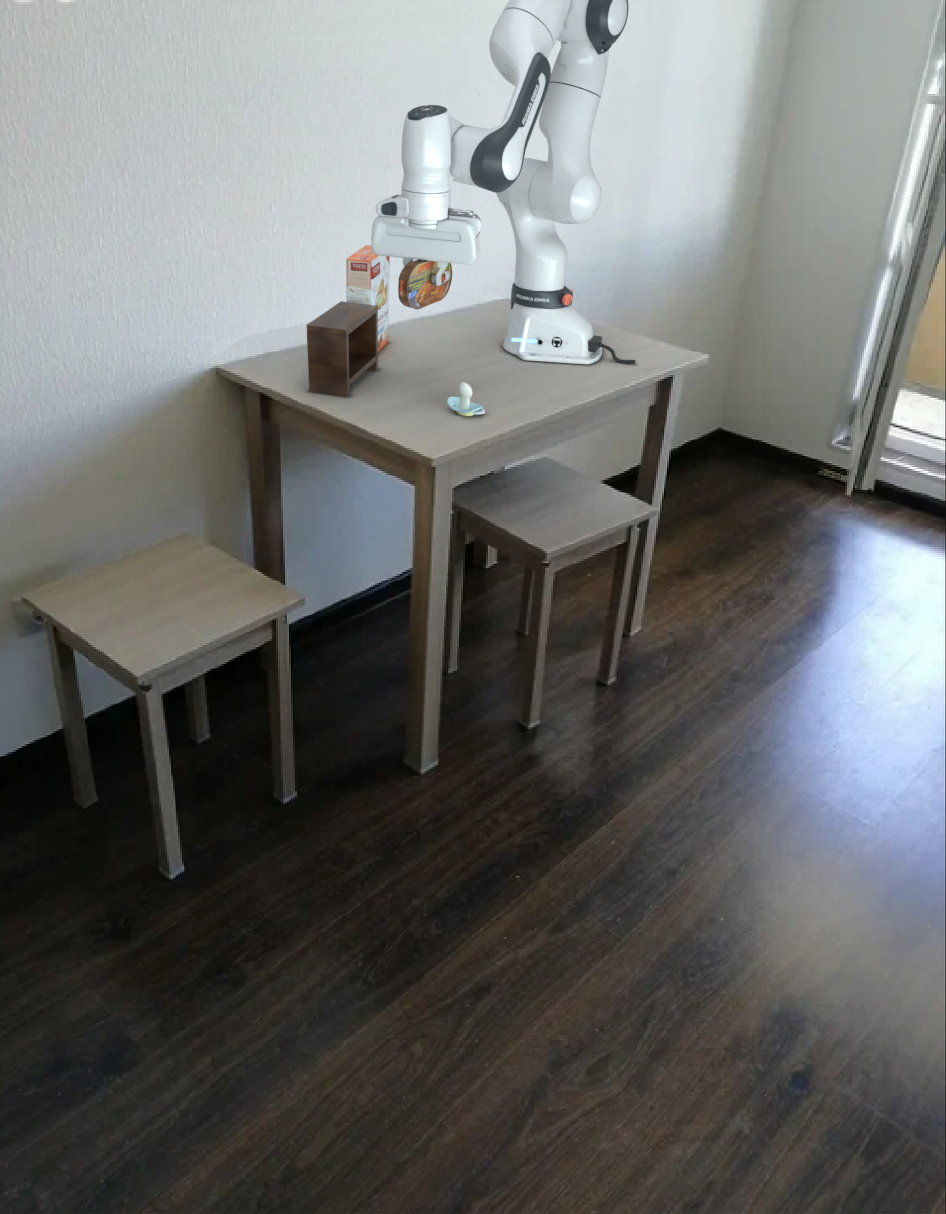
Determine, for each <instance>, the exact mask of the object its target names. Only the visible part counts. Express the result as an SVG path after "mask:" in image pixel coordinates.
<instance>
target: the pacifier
mask: <svg viewBox="0 0 946 1214" xmlns="http://www.w3.org/2000/svg"><path fill="white" fill-rule="evenodd" d="M457 389H458V390H457V391H458V394H459V395H460V397H458V396H450V397H448V398H447V401H446V402H447V406H448V407H449V408H450V409H452V410H453V411H456V413H457V415H460V416H462V417H472V416H476V415H478V416H479V415H484V414H485V413H486V409H485V408H484V405H483V404H479V403H475V402H472V401H471V398H472V397H473V389H472V387H471V386H470V384H468V383H467V382H464V381H462V382H460V383H459V385H458V387H457Z"/></svg>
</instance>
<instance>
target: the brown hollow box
mask: <svg viewBox="0 0 946 1214" xmlns="http://www.w3.org/2000/svg"><path fill="white" fill-rule="evenodd" d="M306 345H307V369H308V370H307V371H308V392H310V393H316V394H323V395H330V396H336V397H344V398H348V397H349V396H350V394H351V393H350V385H352V384H353V383H354V382H355V381H357V379H358V378H360V376H362V375H363V374H364V373H365V372H366V371H367V370H368V371H377V370H378V369H379V352H378V306H375V305H367V304H359V303H350V302H347V301H343V300H341V301H339V302H338V303H336V304H334V305H333V306H331V307H330V308H329V309H328V310H326V311H324V312H323V313H321V314H320V315H319V316H317V317H315V318H314V319H313V320H312V321H310V322H308V323H307V324H306Z"/></svg>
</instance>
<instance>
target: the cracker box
mask: <svg viewBox="0 0 946 1214" xmlns="http://www.w3.org/2000/svg"><path fill="white" fill-rule="evenodd" d="M345 259H346V260H345V261H346V262H345V265H346V266H345V267H346V269H345V270H346V272H345V273H346V274H345V275H346V278H345V279H346V282H345V284H346V286H345V287H346V290H345V291H346V302H350V303H359V304H367V305H375V306H378V353H379V352H380V351H381V350H382V349H383V348H384V347H385V346H386V345H387V344H388V343H389V322H390V320H389V319H390V317H389V316H390V315H389V313H390V267H391V266H390V265H391V263H390V261H391V257H390V256H380V255H375V254H374V252H373V251H372V249H371V244H368V245H367V244H366V245H363V247H361V248H360V249H358V250H356V251H355V252H354V253H352V254H351V255H350V256H348V257H346V258H345Z"/></svg>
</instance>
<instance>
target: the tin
mask: <svg viewBox="0 0 946 1214" xmlns="http://www.w3.org/2000/svg"><path fill="white" fill-rule="evenodd" d="M439 270H440V268H438V267H437V261H427V260H418V259H415V260H413V262H410V263H408V264H407V265H405V267H404V266H403V268H402V269H401V271H400V273H399V276H398V283H397V284H398V285H397V289H398V290H397V292H398V300H399V301H400V303H401V304H402V305H403V306H404V307H406V308H410V309H413V310H420V309H423V308H426V307H428V306H431V305H433V304H435V303H439V302H441V301H442V300H444V299H445V297H446V296H447V295H448V293H449V291H450V288H451V285H452V281H453V266H452V263H448V266H447V267H446V269H445V271H444V272H443V274H442V275H441V285H440V286H434V285H431V282H432V280H431V277H432V275H433V274H437V273H438V271H439Z"/></svg>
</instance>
